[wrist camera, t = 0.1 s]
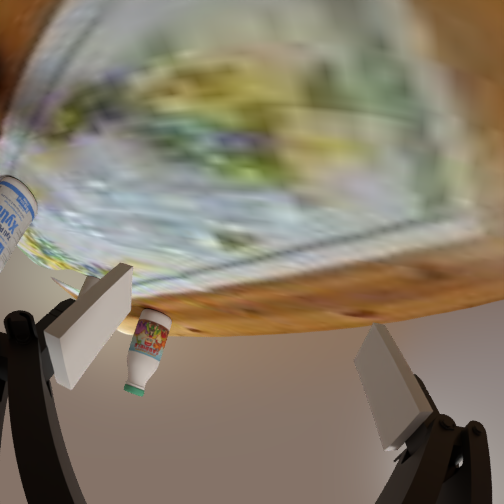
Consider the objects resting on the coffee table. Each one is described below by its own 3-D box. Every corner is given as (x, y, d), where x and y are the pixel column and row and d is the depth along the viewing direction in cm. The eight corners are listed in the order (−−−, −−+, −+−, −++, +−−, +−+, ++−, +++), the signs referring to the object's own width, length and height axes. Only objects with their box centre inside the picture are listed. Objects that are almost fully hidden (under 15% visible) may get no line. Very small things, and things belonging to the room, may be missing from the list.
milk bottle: (174, 325, 68) (152, 400, 56) (145, 316, 67) (122, 389, 56) (170, 314, 61) (145, 397, 50) (139, 304, 61) (112, 385, 50)
